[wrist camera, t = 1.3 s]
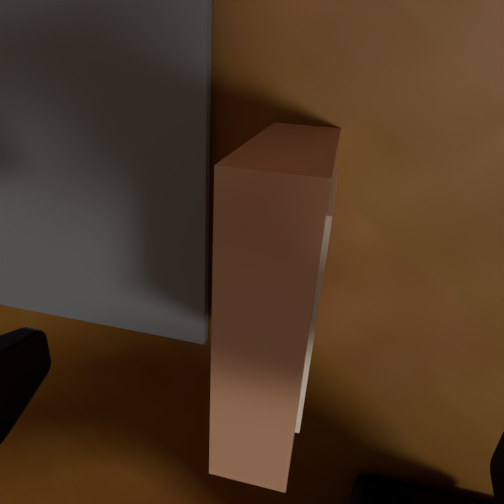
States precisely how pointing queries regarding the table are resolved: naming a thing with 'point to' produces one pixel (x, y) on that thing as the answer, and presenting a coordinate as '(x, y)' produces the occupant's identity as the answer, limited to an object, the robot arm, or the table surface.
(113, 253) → the mat
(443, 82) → the table surface
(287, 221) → the tile
